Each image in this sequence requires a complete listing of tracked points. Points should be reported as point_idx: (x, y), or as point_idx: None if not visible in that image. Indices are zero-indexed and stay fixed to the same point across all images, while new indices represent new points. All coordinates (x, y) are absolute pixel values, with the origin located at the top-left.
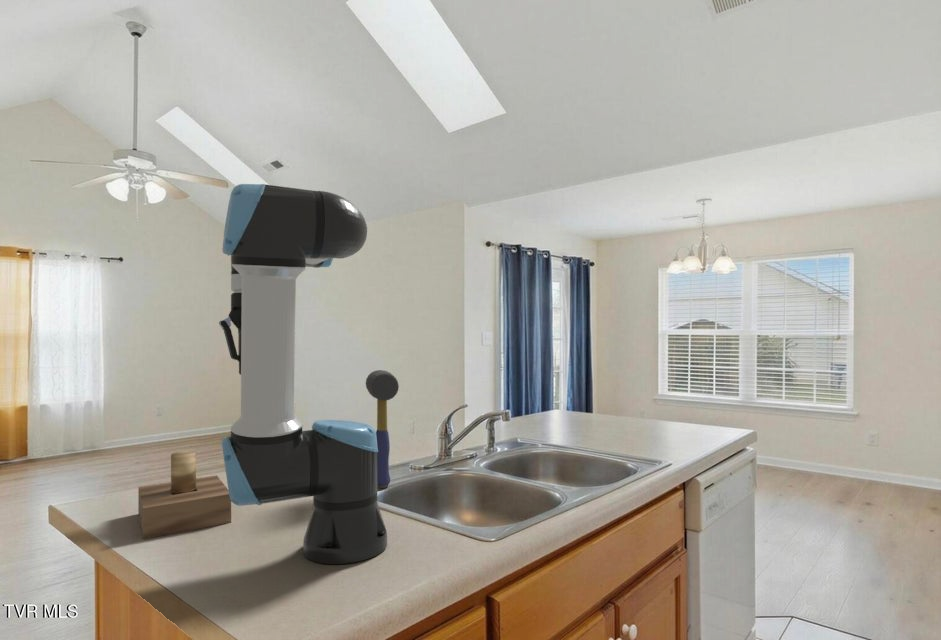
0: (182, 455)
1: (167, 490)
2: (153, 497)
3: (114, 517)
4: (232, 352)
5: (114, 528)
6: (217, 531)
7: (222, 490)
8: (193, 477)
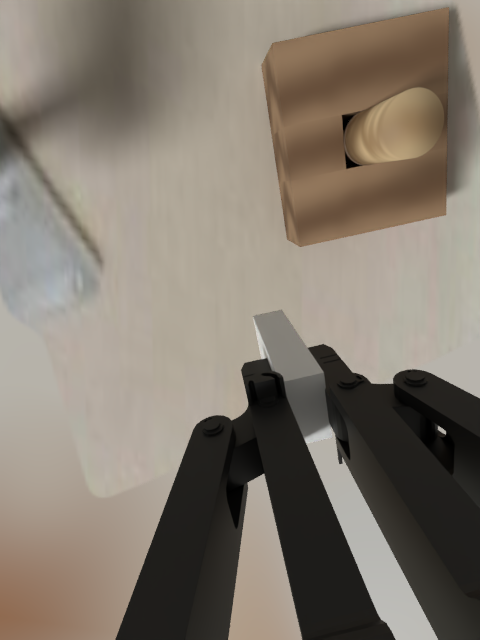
0: (418, 92)
1: None
2: None
3: (449, 207)
4: (459, 396)
5: (450, 135)
6: (286, 12)
7: (290, 87)
8: (361, 116)
